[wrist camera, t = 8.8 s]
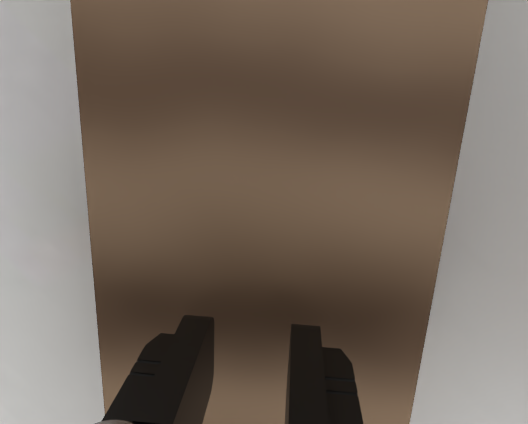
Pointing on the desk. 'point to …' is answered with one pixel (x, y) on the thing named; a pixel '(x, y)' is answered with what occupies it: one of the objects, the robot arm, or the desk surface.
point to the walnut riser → (272, 182)
